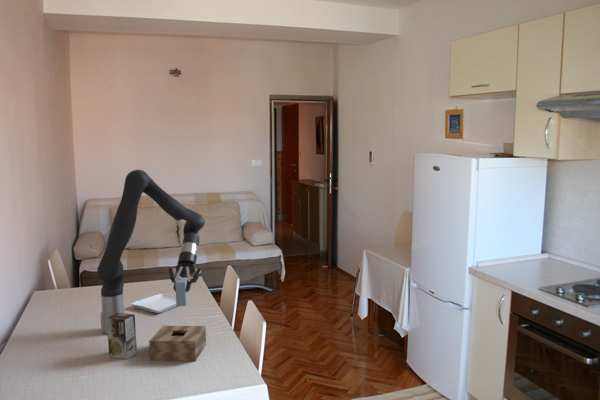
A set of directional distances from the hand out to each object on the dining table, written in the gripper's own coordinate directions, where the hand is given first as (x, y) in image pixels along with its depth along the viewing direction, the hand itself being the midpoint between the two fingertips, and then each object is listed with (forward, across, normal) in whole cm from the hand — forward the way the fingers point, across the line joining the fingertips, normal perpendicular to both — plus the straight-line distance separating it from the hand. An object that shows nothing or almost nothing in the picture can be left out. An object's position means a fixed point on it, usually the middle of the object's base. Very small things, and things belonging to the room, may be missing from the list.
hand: (181, 290), depth 199 cm
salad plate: (-19, -27, +54) cm, 63 cm away
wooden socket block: (+21, 0, +13) cm, 24 cm away
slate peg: (+4, 0, +5) cm, 6 cm away
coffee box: (+23, -22, +11) cm, 34 cm away
